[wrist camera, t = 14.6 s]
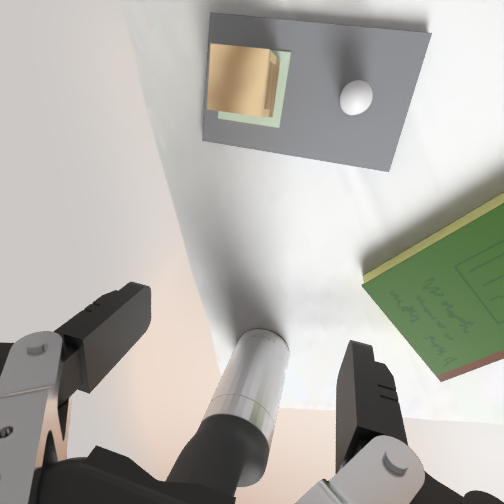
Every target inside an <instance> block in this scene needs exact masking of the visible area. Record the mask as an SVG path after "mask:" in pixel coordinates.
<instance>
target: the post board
mask: <svg viewBox="0 0 504 504" xmlns="http://www.w3.org/2000/svg"><path fill="white" fill-rule="evenodd" d="M431 35H432V33H425V32H414V31H403V30H392V29H381V28H371V27H360V26H349V25H338V24H327V23H316V22H306V21H295V20H284V19H273V18H262V17H251V16H241V15H230V14H219V13H210V25H209V41H208V57H207V73H206V90H205V106H204V122H203V139H202V141H208V142H214V143H220V144H226V145H232V146H238V147H244V148H249V149H255V150H261V151H267V152H273V153H279V154H285V155H291V156H297V157H303V158H309V159H315V160H321V161H327V162H332V163H338V164H344V165H350V166H356V167H362V168H368V169H374V170H380V171H386V172H389V170H390V167H391V164H392V160H393V157H394V154H395V151H396V148H397V144H398V141H399V138H400V135H401V131H402V128H403V125H404V122H405V118H406V115H407V112H408V109H409V106H410V102H411V99H412V96H413V93H414V89H415V86H416V83H417V80H418V76H419V73H420V70H421V67H422V64H423V60H424V57H425V54H426V51H427V47H428V44H429V41H430V38H431ZM210 43H211V44H221V45H231V46H242V47H252V48H262V49H269V50H270V51H271V52H272V53H273V54H274V55H275V56H276V57H277V58H278V59H279V60H280V68H279V75H278V82H277V90H276V97H275V104H274V112H273V117H259V116H251V115H244V114H237V113H229V112H222V111H215V110H208V109H207V97H208V79H209V61H210Z"/></svg>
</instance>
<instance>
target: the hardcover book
mask: <svg viewBox="0 0 504 504" xmlns="http://www.w3.org/2000/svg"><path fill="white" fill-rule="evenodd" d="M363 280H364V284H362V287H363V288H364V289H365V290H366V292H367V293H368V294H369V295H370V297H371V298H372V299H373V300H374V301H375V303H376V304H377V305H378V306H379V307H380V309H381V310H382V311H383V312H384V313H385V315H386V316H387V317H388V318H389V320H390V321H391V322H392V323H393V324H394V326H395V327H396V328H397V329H398V330H399V332H400V333H401V334H402V335H403V337H404V338H405V339H406V340H407V341H408V343H409V344H410V345H411V346H412V347H413V349H414V350H415V351H416V352H417V353H418V355H419V356H420V357H421V358H422V360H423V361H424V362H425V363H426V364H427V366H428V367H429V368H430V369H431V370H432V372H433V373H434V374H435V375H436V377H437V378H438V379H439V380H440V381H441V382H442V381H445V380H448V379H450V378H453V377H456V376H458V375H461V374H464V373H466V372H469V371H472V370H474V369H477V368H480V367H482V366H485V365H488V364H490V363H493V362H496V361H498V360H501V359H504V192H503V193H501V194H500V195H498V196H496V197H494V198H493V199H491V200H489V201H488V202H486V203H484V204H483V205H481V206H479V207H478V208H476V209H474V210H473V211H471V212H469V213H467V214H466V215H464V216H462V217H461V218H459V219H457V220H456V221H454V222H452V223H451V224H449V225H447V226H446V227H444V228H442V229H440V230H439V231H437V232H435V233H434V234H432V235H430V236H429V237H427V238H425V239H424V240H422V241H420V242H419V243H417V244H415V245H414V246H412V247H410V248H408V249H407V250H405V251H403V252H402V253H400V254H398V255H397V256H395V257H393V258H392V259H390V260H388V261H387V262H385V263H383V264H381V265H380V266H378V267H376V268H375V269H373V270H371V271H370V272H368V273H366V274H365V275H363Z"/></svg>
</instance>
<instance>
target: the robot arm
mask: <svg viewBox="0 0 504 504" xmlns="http://www.w3.org/2000/svg"><path fill="white" fill-rule="evenodd" d="M150 321H151V289H150V287H149V286H146V285H142V284H138V283H135V282H129V283H128V284H127V285H125V286H124V287H123V288H122V289H120V290H119V291H117V290H115V291H112V292H110V293H107V294H105V295H102V296H101V297H100V298H98V299H97V300H96V301H94V302H93V304H90V305H89V306H87V307H86V308H85V309H84V310H82V311H81V312H79V313H78V314H77V315H75V316H74V317H73V318H71V319H70V320H69V321H68V322H66V323H65V324H63V325H62V326H61V327H59V328H58V329H56V330H55V331H54V332H50V331H43V332H36V333H32V334H29V335H27V336H25V337H23V338H21V339H20V340H18V341H17V342H15V343H0V504H235V500H236V497H234V494H235V491H236V488H237V487H246V486H250V485H253V484H255V483H257V481H259V480H260V479H261V478H262V476H263V474H264V472H265V469H266V465H267V461H268V456H269V451H270V447H271V442H272V437H273V432H274V427H275V422H276V417H277V413H278V408H279V403H280V398H281V393H282V389H283V384H284V379H285V375H286V370H287V365H288V360H289V350H288V347H287V345H286V343H285V342H284V341H283V339H282V338H281V337H279V336H278V335H277V334H275V333H273V332H271V331H268V330H264V329H253V330H250V331H247V332H245V333H244V334H243V335H242V336H241V337H240V339H239V341H238V343H237V345H236V347H235V350H234V352H233V354H232V356H231V358H230V360H229V362H228V365H227V367H226V369H225V371H224V373H223V376H222V378H221V380H220V382H219V384H218V387H217V389H216V391H215V393H214V395H213V398H212V400H211V402H210V404H209V407H208V409H207V411H206V413H205V416H204V418H203V420H202V422H201V425H200V427H199V429H198V431H197V433H196V434H195V435H194V436H193V437H192V439H191V440H190V441H189V442H188V443H187V445H186V446H185V447H184V449H183V450H182V452H181V453H180V455H179V457H178V459H177V460H176V462H175V464H174V466H173V468H172V470H171V472H170V474H169V476H168V477H167V480H166V481H165V482H163V481H158V480H156V479H155V478H153V477H152V476H151V475H150V474H148V473H147V472H146V471H145V470H143V469H142V468H141V467H140V466H138V465H137V464H136V463H135V462H134V461H132V460H131V459H130V458H128V457H126V456H123V455H120V454H118V453H115V452H112V451H110V450H107V449H104V448H102V447H99V446H96V447H95V448H94V449H93V450H92V452H91V453H90V455H89V456H88V457H78V458H70V459H67V441H68V431H69V422H70V412H71V402H72V399H71V395H72V394H73V393H74V392H75V391H76V390H77V389H78V390H81V391H84V392H87V393H90V392H91V391H92V390H93V389H94V388H95V387H96V386H97V385H98V384H99V383H100V381H101V380H102V379H103V378H104V377H105V376H106V375H107V374H108V373H109V371H110V370H111V369H112V368H113V367H114V366H115V365H116V364H117V363H118V362H119V361H120V359H121V358H122V357H123V356H124V355H125V354H126V353H127V352H128V350H130V348H131V347H132V346H133V345H134V344H135V343H136V342H137V341H138V340H139V339H140V337H141V336H142V335H143V334H144V333H145V332H146V330H147V329H148V327H149V324H150ZM295 504H504V503H503V502H502V501H501V500H499V499H498V498H496V497H494V496H493V495H490V494H488V493H486V492H482V491H470V492H468V493H466V494H465V496H464V497H462V496H460V495H459V494H458V493H456V492H454V491H453V490H451V489H449V488H448V487H446V486H445V485H443V484H441V483H440V482H438V481H437V480H435V479H434V478H432V477H431V476H430V475H428V474H427V473H426V472H425V471H424V468H423V465H422V463H421V461H420V459H419V458H418V456H417V455H416V454H415V453H414V451H413V450H412V449H411V448H410V447H409V446H408V443H407V438H406V433H405V429H404V425H403V419H402V414H401V410H400V405H399V403H398V396H397V392H396V386H395V382H394V377H393V375H392V374H391V372H390V371H389V369H388V368H387V366H386V365H385V364H383V363H379V362H376V361H374V354H373V348H372V346H371V345H368V344H364V343H360V342H356V341H353V340H350V342H349V344H348V347H347V350H346V353H345V356H344V359H343V362H342V365H341V368H340V371H339V374H338V379H337V387H336V475H335V476H334V477H333V478H332V479H330V480H329V481H326V479H322V480H320V481H319V482H318V483H316V484H315V485H314V486H313V487H312V488H311V489H310V490H309V491H308V492H307V493H306V494H305V495H303V496H302V497H301V498H300V499H299V500H298V501H297V502H296V503H295Z"/></svg>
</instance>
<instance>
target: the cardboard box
mask: <svg viewBox="0 0 504 504" xmlns="http://www.w3.org/2000/svg"><path fill="white" fill-rule="evenodd" d="M279 68H280V60H279V59H278V58H277V57H276V56H275V55H274V54H273V53H272V52H271V51H270V50H269V49H262V48H252V47H242V46H231V45H221V44H211V43H210V61H209V79H208V97H207V109H208V110H215V111H222V112H229V113H237V114H244V115H251V116H259V117H273V112H274V104H275V97H276V90H277V82H278V75H279Z"/></svg>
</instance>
